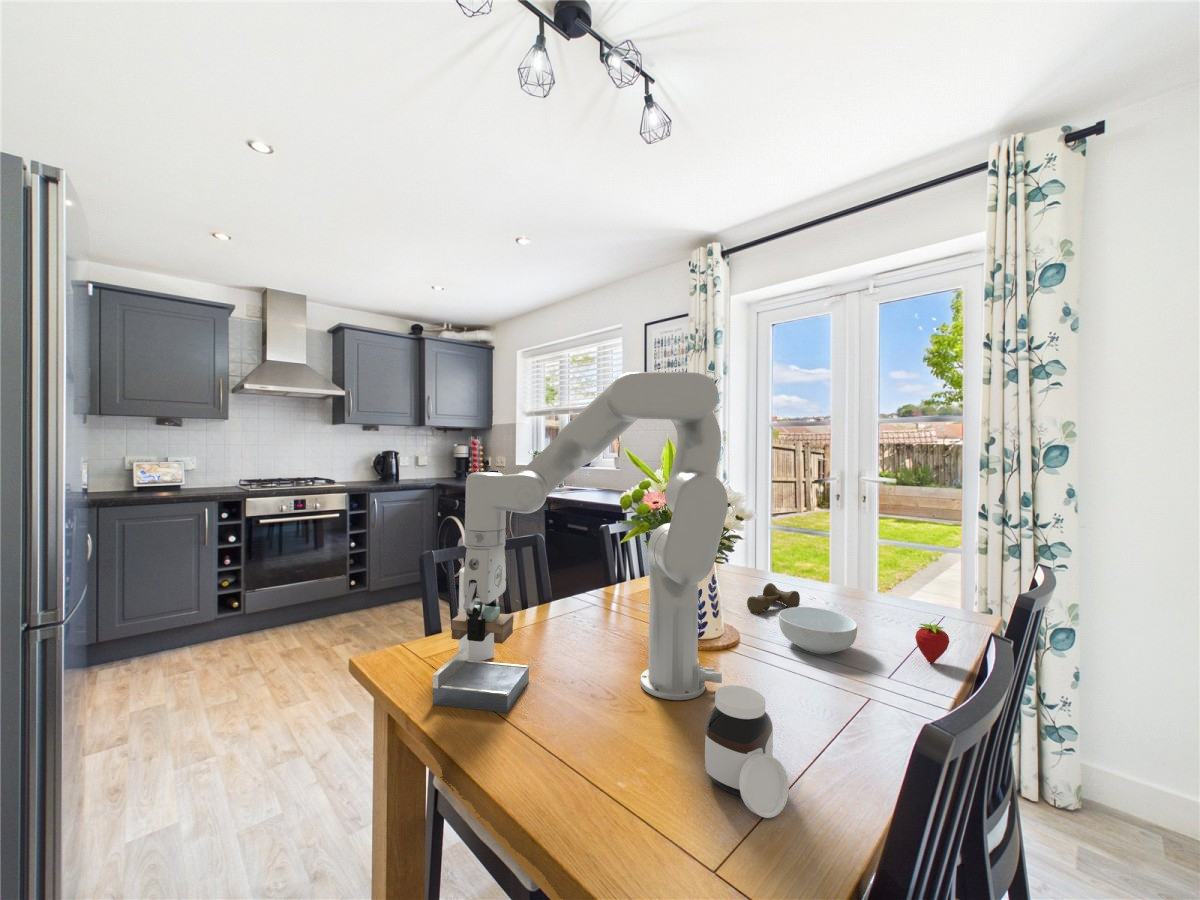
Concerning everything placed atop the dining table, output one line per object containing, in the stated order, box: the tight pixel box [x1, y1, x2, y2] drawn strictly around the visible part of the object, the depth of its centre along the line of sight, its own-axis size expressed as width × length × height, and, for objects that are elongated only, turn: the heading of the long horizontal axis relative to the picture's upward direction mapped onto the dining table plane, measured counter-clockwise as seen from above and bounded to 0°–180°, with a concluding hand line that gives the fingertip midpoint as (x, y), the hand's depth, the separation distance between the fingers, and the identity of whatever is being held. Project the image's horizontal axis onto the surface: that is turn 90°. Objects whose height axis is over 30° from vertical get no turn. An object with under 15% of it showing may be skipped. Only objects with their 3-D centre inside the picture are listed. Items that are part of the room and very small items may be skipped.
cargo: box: [466, 605, 501, 622], centre depth 94 cm, size 5×4×2 cm
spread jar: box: [704, 684, 790, 819], centre depth 68 cm, size 12×11×12 cm
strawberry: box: [914, 618, 950, 664], centre depth 110 cm, size 6×8×10 cm
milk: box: [457, 566, 496, 662], centre depth 110 cm, size 6×6×22 cm
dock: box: [432, 648, 530, 714], centre depth 94 cm, size 14×12×5 cm
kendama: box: [746, 582, 801, 615], centre depth 147 cm, size 6×10×20 cm
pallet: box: [450, 611, 515, 645], centre depth 94 cm, size 10×6×4 cm, turn 80°
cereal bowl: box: [778, 606, 858, 655], centre depth 117 cm, size 17×17×7 cm
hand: (482, 633), depth 94 cm, fingers closed on pallet, 5 cm apart
